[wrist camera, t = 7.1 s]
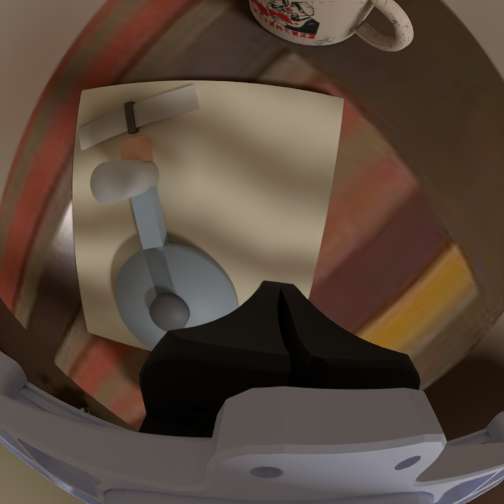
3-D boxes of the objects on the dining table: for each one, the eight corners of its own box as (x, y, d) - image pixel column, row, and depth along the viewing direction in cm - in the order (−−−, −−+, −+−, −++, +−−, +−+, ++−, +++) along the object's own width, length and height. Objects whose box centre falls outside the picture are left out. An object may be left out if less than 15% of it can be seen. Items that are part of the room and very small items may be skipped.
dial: (248, 349, 22) (242, 392, 17) (144, 351, 23) (122, 387, 18) (204, 121, 16) (179, 109, 12) (86, 159, 18) (43, 163, 13)
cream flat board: (286, 366, 24) (287, 380, 22) (93, 325, 25) (85, 335, 23) (339, 102, 16) (346, 96, 15) (89, 92, 17) (77, 89, 15)
